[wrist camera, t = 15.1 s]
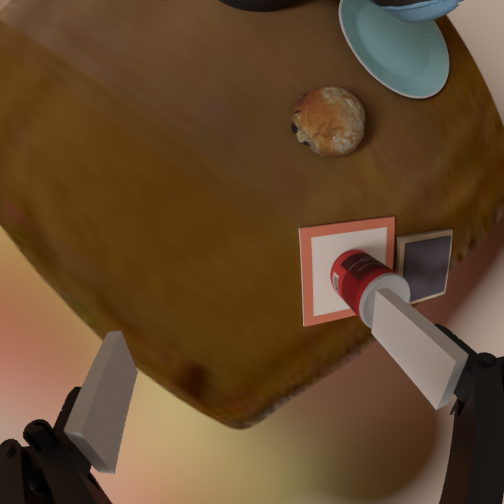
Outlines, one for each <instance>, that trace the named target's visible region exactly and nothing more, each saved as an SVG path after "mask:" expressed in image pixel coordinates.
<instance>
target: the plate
mask: <svg viewBox="0 0 504 504" xmlns="http://www.w3.org/2000/svg"><path fill="white" fill-rule="evenodd" d="M339 20H340V24H341V28H342V31H343V34H344V36H345V39H346V41H347V43H348V45H349V46H350V48H351V50H352V51H353V53H354V55H355V56H356V57H357V59H358V60H359V61H360V63H361V64H362V65H363V66H364V68H365V69H366V70H367V71H368V72H369V73H370V74H371V75H372V76H373V77H374V78H375V79H376V80H378V81H379V82H380V83H381V84H383V85H384V86H385V87H387V88H389V89H390V90H392V91H394V92H396V93H398V94H400V95H403V96H406V97H410V98H427V97H430V96H433V95H435V94H436V93H437V92H439V91H440V90H441V89H442V87H443V86H444V84H445V82H446V80H447V77H448V72H449V56H448V51H447V47H446V43H445V40H444V38H443V36H442V33H441V31H440V29H439V28H438V26H437V24H436V23H435V21H434V20H432V21H429V22H425V23H419V24H411V23H406V22H402V21H400V20H398V19H396V18H395V17H393V16H392V15H390V14H389V13H388V12H386V11H385V10H383V9H381V8H378V7H376V6H374V5H373V4H372V3H371V1H369V0H340V4H339Z"/></svg>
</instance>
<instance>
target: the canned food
mask: <svg viewBox="0 0 504 504" xmlns="http://www.w3.org/2000/svg"><path fill="white" fill-rule="evenodd" d="M330 278H331V283H332V286H333V288H334V290H335V291H336V292H337V294H338V295H339V296H340V297H341V298H342V299H343V300H344V301H345V302H346V304H347V305H348V306H349V307H350V308H351V309H352V310H353V311H354V313H355V314H356V315H357V316H358V317H359V318H360V319H361V320H362V321H363V322H364V323H365V324H366V325H367V326H368V327H370V328H372V324H373V315H374V305H375V293H376V290H378V289H383V288H387V287H388V288H389V289H390V290H391V291H393V292H394V293H395V294H397V295H398V296H399V297H400V298H402V299H403V300H404V301H405V302H407V303H408V304H409V302H410V287H409V284H408V282H407V281H406V280H405V279H404V278H403V277H402V276H401V275H399V274H398V273H397V272H395V271H394V270H392V269H391V268H389V267H387V266H386V265H384V264H383V263H381V262H380V261H378V260H377V259H375V258H374V257H372V256H370V255H369V254H367V253H366V252H364V251H361V250H349V251H346V252H344V253H342V254H341V255H340V256H339V257H338V258H337V259H336V260H335V262H334V263H333V265H332V268H331V273H330Z"/></svg>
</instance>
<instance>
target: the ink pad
mask: <svg viewBox="0 0 504 504" xmlns="http://www.w3.org/2000/svg"><path fill="white" fill-rule="evenodd" d="M452 234H453V230H452V229H450V228H449V229H442V230H436V231H430V232H424V233H417V234H411V235H405V236H398V237H397V256H396V270H395V272H397V273H398V274H399V275H401V276H402V277H403V278H404V279H405V280H406V281H407V282H408V284H409V287H410V302H409V305H410V304H414V303H417V302H420V301H423V300H427V299H430V298H433V297H436V296H439V295H442V294H445V290H446V283H447V277H448V271H449V263H450V255H451V245H452Z"/></svg>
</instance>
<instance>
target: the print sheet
mask: <svg viewBox="0 0 504 504" xmlns="http://www.w3.org/2000/svg"><path fill="white" fill-rule="evenodd" d="M394 232H395V217H394V216H390V217H382V218H373V219H365V220H357V221H349V222H341V223H333V224H325V225H317V226H309V227H302V228H299V237H300V254H301V274H302V297H303V325H304V327H305V326H310V325H315V324H319V323H324V322H328V321H333V320H337V319H342V318H346V317H350V316H354V315H356V314H355V313H354V311H353V310H352V309H351V308H350V307H349V306H348V305H347V304H346V302H345V301H344V300H343V299H342V298H341V297H340V296H339V295H338V294H337V292H336V291H335V290H334V288H333V286H332V283H331V278H330V273H331V268H332V265H333V263H334V262H335V260H336V259H337V258H338V257H339V256H340V255H341V254H342V253H344V252H346V251H349V250H361V251H364V252H366V253H367V254H369V255H370V256H372V257H374V258H375V259H377V260H378V261H380V262H381V263H383V264H384V265H386V266H387V267H389V268H391V269H392V270H393V256H394Z"/></svg>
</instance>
